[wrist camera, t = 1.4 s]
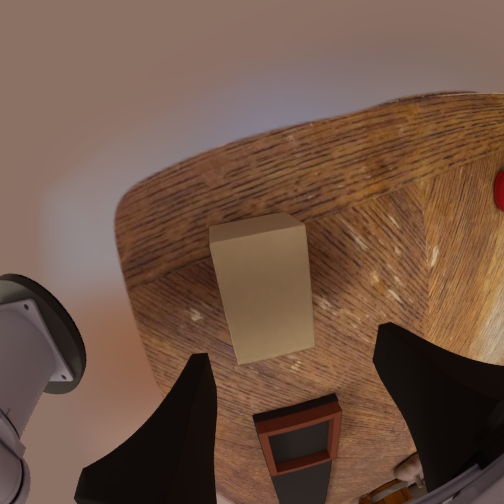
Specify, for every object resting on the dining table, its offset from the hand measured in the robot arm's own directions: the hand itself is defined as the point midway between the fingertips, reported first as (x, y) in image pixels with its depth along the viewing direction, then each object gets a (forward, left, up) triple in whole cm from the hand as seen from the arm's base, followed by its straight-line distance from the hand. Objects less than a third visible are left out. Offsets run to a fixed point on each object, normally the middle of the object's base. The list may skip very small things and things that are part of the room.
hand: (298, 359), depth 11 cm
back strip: (+1, -34, -9) cm, 36 cm away
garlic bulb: (+24, -49, -9) cm, 55 cm away
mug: (+20, -64, -9) cm, 68 cm away
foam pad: (0, 0, -9) cm, 9 cm away
